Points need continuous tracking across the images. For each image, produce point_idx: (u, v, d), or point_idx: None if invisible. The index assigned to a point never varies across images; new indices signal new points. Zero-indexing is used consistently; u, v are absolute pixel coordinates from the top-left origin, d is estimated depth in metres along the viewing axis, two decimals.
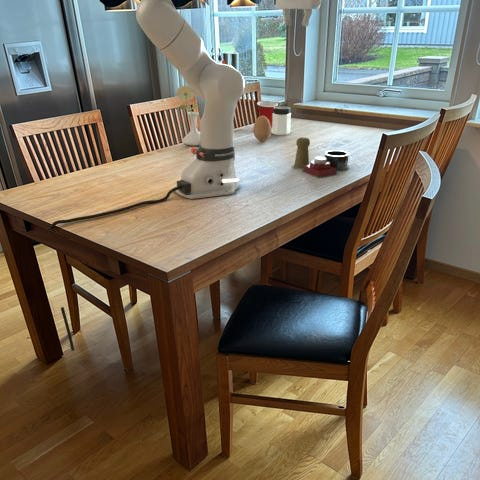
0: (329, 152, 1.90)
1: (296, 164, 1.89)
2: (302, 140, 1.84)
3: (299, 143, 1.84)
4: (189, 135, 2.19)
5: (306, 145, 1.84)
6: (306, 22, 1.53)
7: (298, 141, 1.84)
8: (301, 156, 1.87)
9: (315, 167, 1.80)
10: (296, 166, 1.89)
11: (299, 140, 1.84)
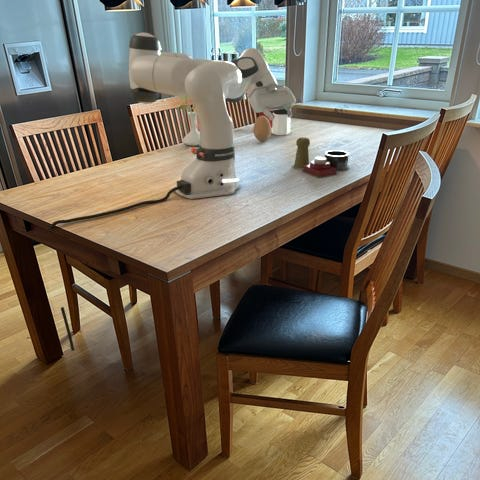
0: (329, 152, 1.90)
1: (296, 164, 1.89)
2: (302, 140, 1.84)
3: (299, 143, 1.84)
4: (189, 135, 2.19)
5: (306, 145, 1.84)
6: (270, 117, 1.88)
7: (298, 141, 1.84)
8: (301, 156, 1.87)
9: (315, 167, 1.80)
10: (296, 166, 1.89)
11: (299, 140, 1.84)
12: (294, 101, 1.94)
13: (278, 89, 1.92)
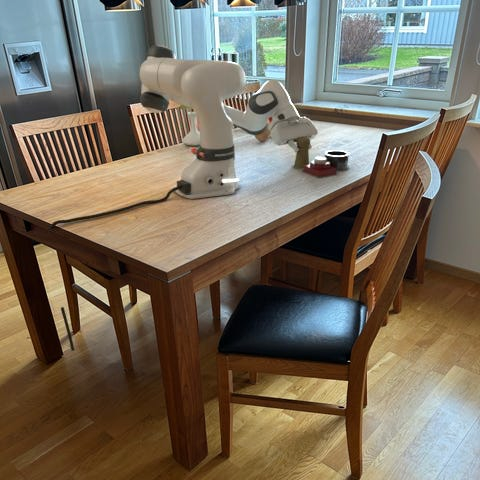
0: (329, 152, 1.90)
1: (296, 164, 1.89)
2: (302, 140, 1.84)
3: (299, 143, 1.84)
4: (189, 135, 2.19)
5: (306, 145, 1.84)
6: (295, 149, 1.85)
7: (298, 141, 1.84)
8: (301, 156, 1.87)
9: (315, 167, 1.80)
10: (296, 166, 1.89)
11: (299, 140, 1.84)
12: (316, 133, 1.90)
13: (300, 121, 1.88)
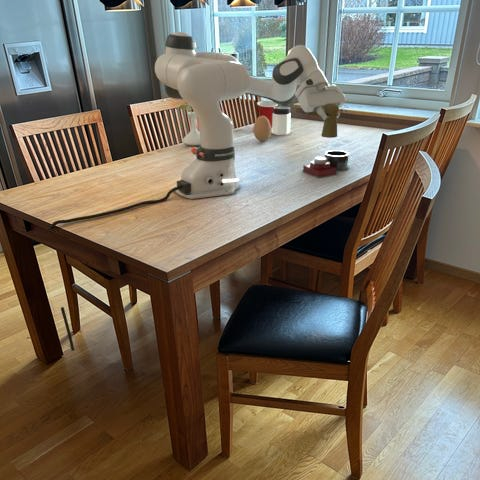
0: (329, 152, 1.90)
1: (324, 133, 1.82)
2: (331, 107, 1.76)
3: (328, 110, 1.77)
4: (189, 135, 2.19)
5: (335, 112, 1.77)
6: (323, 116, 1.78)
7: (327, 108, 1.77)
8: (330, 124, 1.79)
9: (315, 167, 1.80)
10: (324, 135, 1.82)
11: (328, 107, 1.77)
12: (344, 100, 1.83)
13: (328, 88, 1.81)
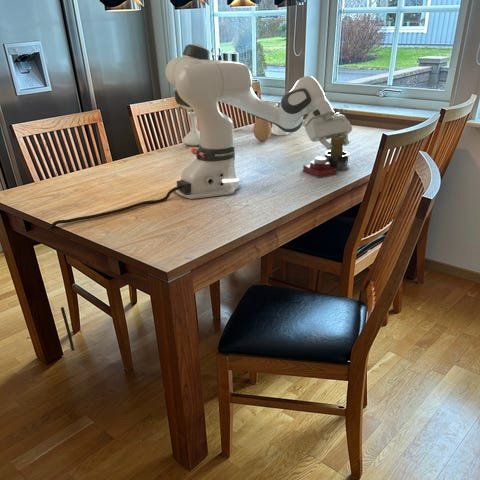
0: (329, 152, 1.90)
1: None
2: (337, 139, 1.82)
3: (334, 142, 1.82)
4: (189, 135, 2.19)
5: (341, 144, 1.83)
6: (327, 146, 1.82)
7: (333, 140, 1.82)
8: None
9: (315, 167, 1.80)
10: None
11: (334, 139, 1.82)
12: (350, 129, 1.88)
13: (334, 117, 1.86)
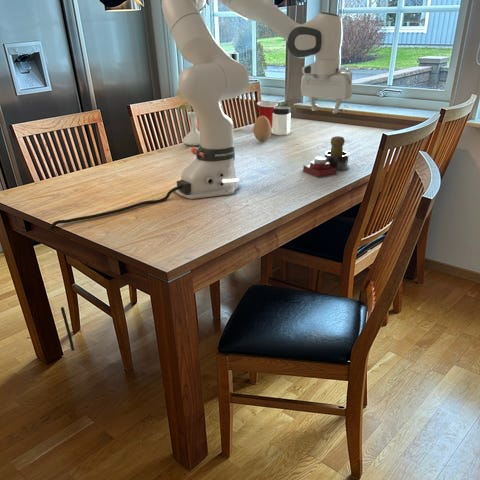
0: (329, 152, 1.90)
1: None
2: (337, 139, 1.82)
3: (334, 142, 1.82)
4: (189, 135, 2.19)
5: (341, 144, 1.83)
6: None
7: (333, 140, 1.82)
8: None
9: (315, 167, 1.80)
10: None
11: (334, 139, 1.82)
12: (342, 98, 1.64)
13: (331, 77, 1.64)
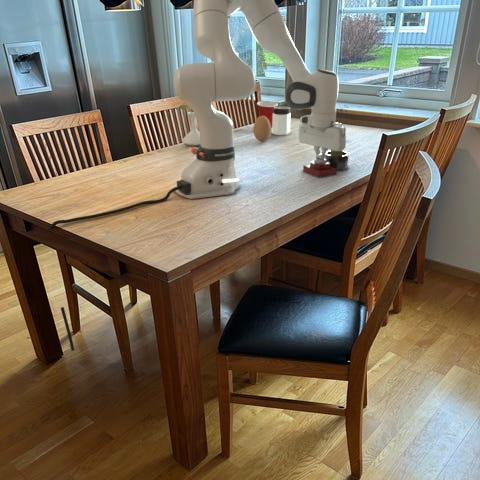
0: (329, 152, 1.90)
1: None
2: None
3: None
4: (189, 135, 2.19)
5: None
6: None
7: None
8: None
9: (315, 167, 1.80)
10: None
11: None
12: (336, 150, 1.72)
13: (326, 130, 1.72)
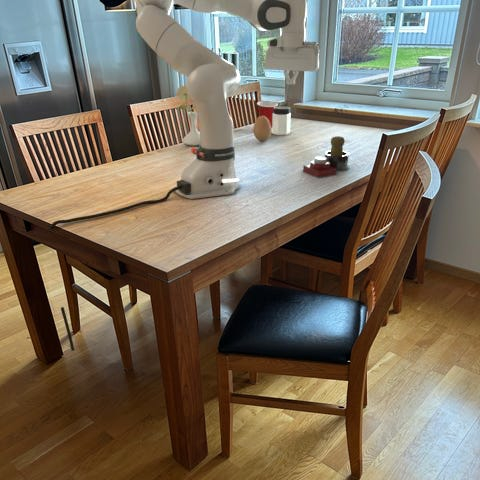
0: (329, 152, 1.90)
1: None
2: (337, 139, 1.82)
3: (334, 142, 1.82)
4: (189, 135, 2.19)
5: (341, 144, 1.83)
6: None
7: (333, 140, 1.82)
8: None
9: (315, 167, 1.80)
10: None
11: (334, 139, 1.82)
12: (311, 70, 1.72)
13: (299, 50, 1.71)
